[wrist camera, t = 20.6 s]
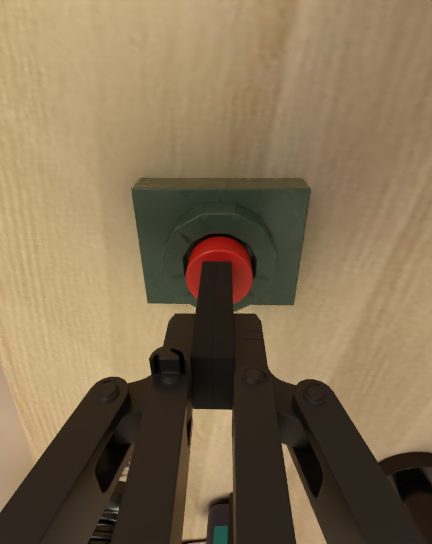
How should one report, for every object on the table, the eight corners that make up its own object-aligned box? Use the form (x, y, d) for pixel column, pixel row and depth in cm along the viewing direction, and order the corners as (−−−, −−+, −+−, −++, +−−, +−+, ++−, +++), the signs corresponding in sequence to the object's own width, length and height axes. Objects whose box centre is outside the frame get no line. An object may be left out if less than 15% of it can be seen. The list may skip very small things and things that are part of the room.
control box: (303, 178, 20) (319, 199, 16) (288, 287, 24) (299, 322, 20) (140, 177, 20) (121, 198, 17) (153, 286, 24) (141, 320, 21)
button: (252, 235, 18) (254, 250, 16) (249, 289, 20) (251, 307, 18) (187, 235, 18) (183, 249, 16) (190, 289, 20) (187, 306, 18)
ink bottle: (178, 435, 34) (157, 592, 23) (169, 478, 38) (148, 626, 28) (83, 422, 33) (19, 577, 23) (86, 468, 38) (32, 615, 27)
